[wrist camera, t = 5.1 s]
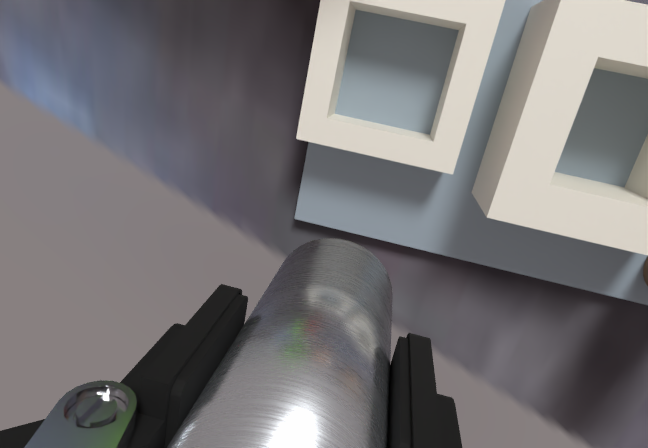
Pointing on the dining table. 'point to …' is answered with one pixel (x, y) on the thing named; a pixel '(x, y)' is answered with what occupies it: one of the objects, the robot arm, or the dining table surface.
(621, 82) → the dock station
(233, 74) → the dining table surface
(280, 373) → the pin
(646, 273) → the dowel
